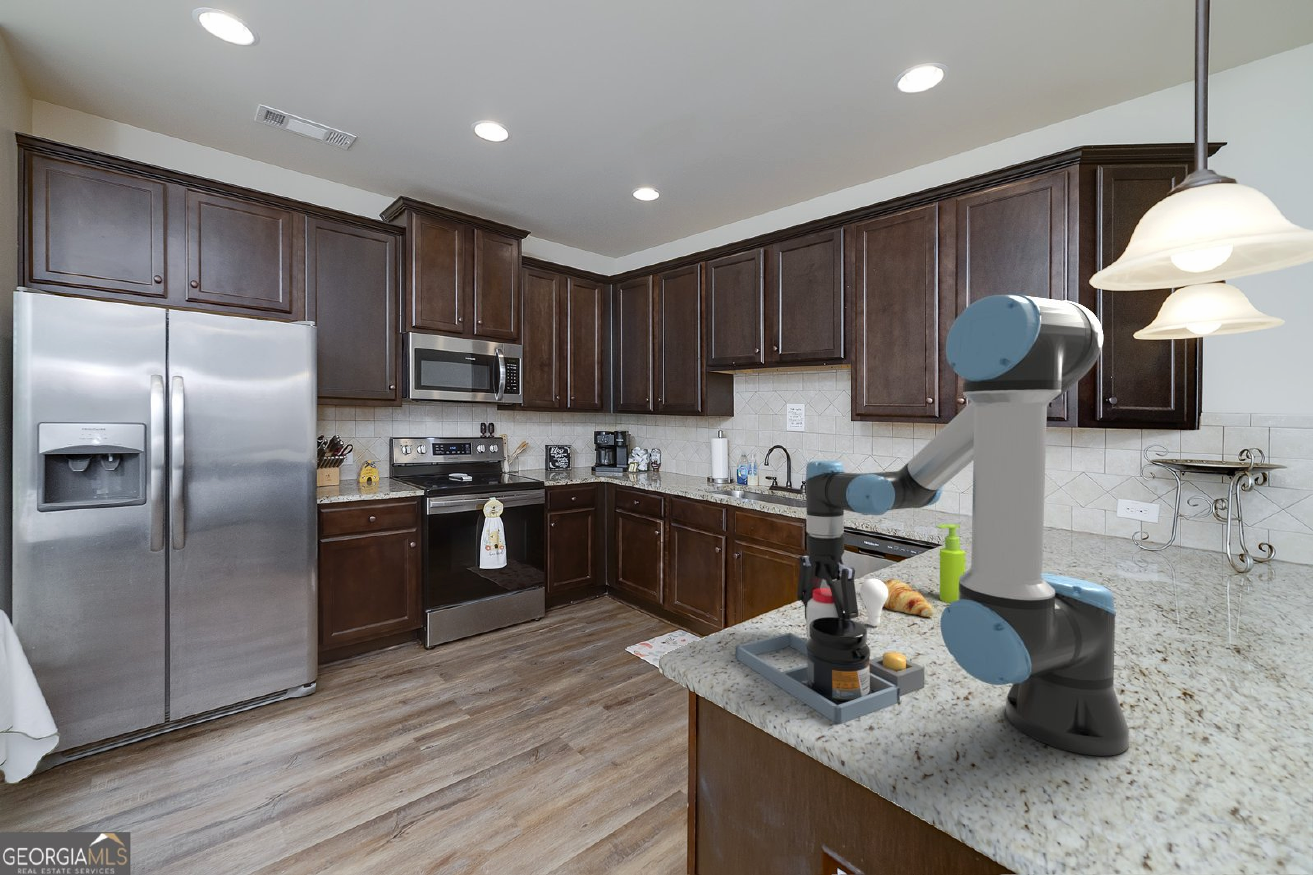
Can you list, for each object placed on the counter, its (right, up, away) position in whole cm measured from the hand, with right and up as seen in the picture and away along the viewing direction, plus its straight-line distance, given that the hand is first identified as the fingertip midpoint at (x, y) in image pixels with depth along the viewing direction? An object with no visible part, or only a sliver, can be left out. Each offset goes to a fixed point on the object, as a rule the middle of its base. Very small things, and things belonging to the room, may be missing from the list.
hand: (826, 642), depth 115 cm
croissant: (+26, 0, +25) cm, 36 cm away
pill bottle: (0, 0, 0) cm, 0 cm away
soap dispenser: (+42, 0, +29) cm, 50 cm away
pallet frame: (-7, -1, -14) cm, 16 cm away
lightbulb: (+15, -1, +11) cm, 18 cm away
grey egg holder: (+7, -1, -16) cm, 18 cm away
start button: (+7, 0, -16) cm, 18 cm away
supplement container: (-4, -2, -20) cm, 20 cm away
